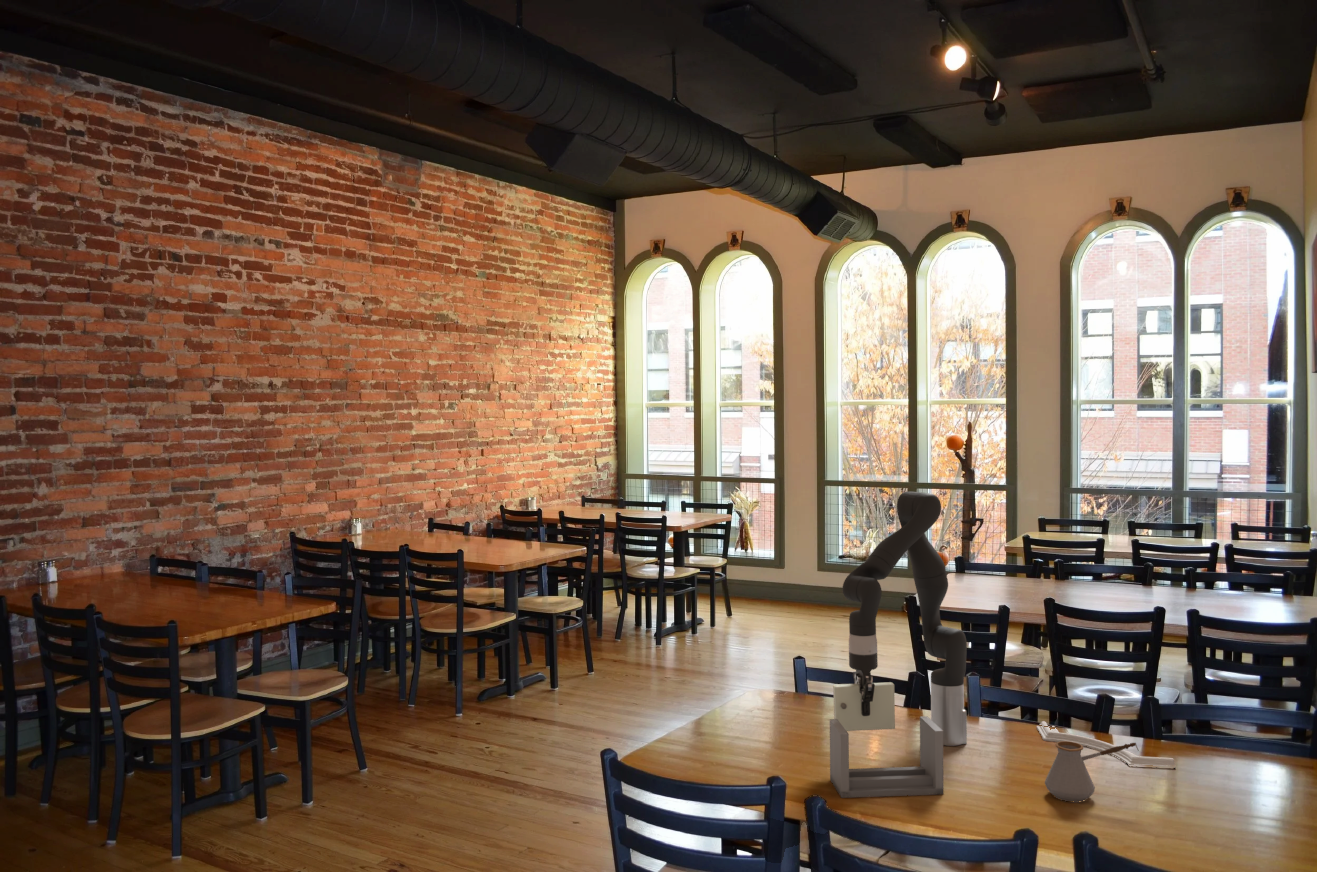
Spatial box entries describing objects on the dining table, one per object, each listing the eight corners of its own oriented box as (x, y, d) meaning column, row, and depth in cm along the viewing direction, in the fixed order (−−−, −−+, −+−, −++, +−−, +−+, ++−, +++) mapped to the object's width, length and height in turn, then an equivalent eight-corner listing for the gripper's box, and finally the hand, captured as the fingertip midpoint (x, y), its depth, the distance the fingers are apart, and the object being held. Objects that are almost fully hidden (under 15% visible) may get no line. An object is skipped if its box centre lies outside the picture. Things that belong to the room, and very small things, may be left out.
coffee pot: (1045, 802, 239) (1045, 741, 238) (1043, 785, 249) (1043, 727, 249) (1142, 813, 231) (1141, 750, 231) (1136, 795, 242) (1135, 735, 242)
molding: (1183, 768, 262) (1183, 757, 262) (1158, 777, 255) (1158, 766, 255) (1044, 727, 297) (1044, 718, 297) (1019, 734, 290) (1019, 725, 290)
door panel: (892, 725, 264) (891, 682, 264) (896, 729, 261) (895, 685, 260) (834, 728, 263) (833, 684, 263) (837, 732, 260) (836, 688, 260)
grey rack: (927, 776, 256) (927, 716, 256) (943, 794, 244) (943, 730, 244) (830, 779, 255) (829, 719, 255) (841, 797, 243) (840, 733, 243)
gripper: (884, 655, 255) (885, 721, 256) (869, 643, 269) (871, 705, 270) (855, 657, 255) (857, 722, 255) (843, 644, 269) (844, 706, 269)
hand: (864, 713), depth 262 cm, fingers closed on door panel, 2 cm apart
